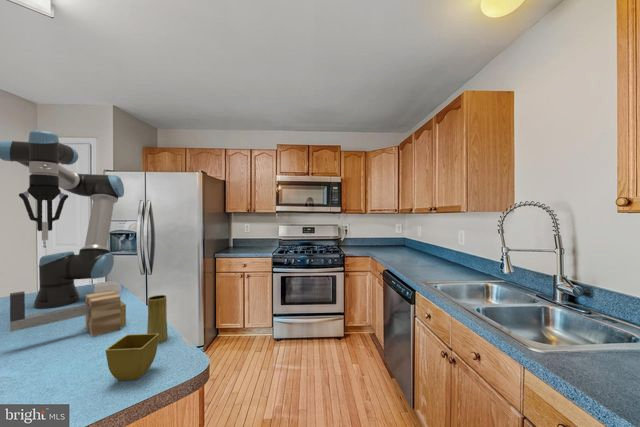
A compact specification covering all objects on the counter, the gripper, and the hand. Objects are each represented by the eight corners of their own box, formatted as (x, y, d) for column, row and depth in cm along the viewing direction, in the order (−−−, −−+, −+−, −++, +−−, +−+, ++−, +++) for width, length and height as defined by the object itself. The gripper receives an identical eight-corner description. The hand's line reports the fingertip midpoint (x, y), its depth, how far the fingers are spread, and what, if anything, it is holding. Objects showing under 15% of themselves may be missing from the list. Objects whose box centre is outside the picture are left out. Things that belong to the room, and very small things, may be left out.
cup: (126, 308, 121) (125, 281, 121) (108, 316, 112) (108, 286, 112) (107, 307, 122) (107, 280, 122) (88, 315, 113) (87, 286, 113)
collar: (114, 322, 106) (114, 301, 106) (120, 320, 107) (120, 300, 107) (119, 327, 101) (119, 306, 101) (125, 325, 103) (125, 304, 103)
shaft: (10, 328, 85) (9, 293, 84) (110, 307, 103) (110, 278, 103) (10, 331, 83) (9, 295, 82) (112, 309, 101) (112, 279, 101)
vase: (172, 337, 93) (172, 295, 93) (156, 345, 87) (155, 301, 87) (158, 334, 95) (158, 293, 95) (142, 342, 89) (141, 299, 89)
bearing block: (85, 326, 101) (85, 294, 101) (112, 320, 107) (112, 289, 107) (92, 336, 93) (91, 301, 93) (120, 329, 99) (120, 296, 99)
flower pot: (126, 366, 76) (126, 334, 76) (159, 364, 77) (159, 332, 76) (104, 386, 67) (104, 350, 67) (142, 384, 68) (141, 348, 68)
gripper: (17, 172, 92) (18, 242, 92) (70, 175, 102) (70, 239, 102) (17, 174, 97) (18, 240, 97) (67, 177, 107) (67, 237, 107)
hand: (44, 239), depth 100 cm, fingers closed
